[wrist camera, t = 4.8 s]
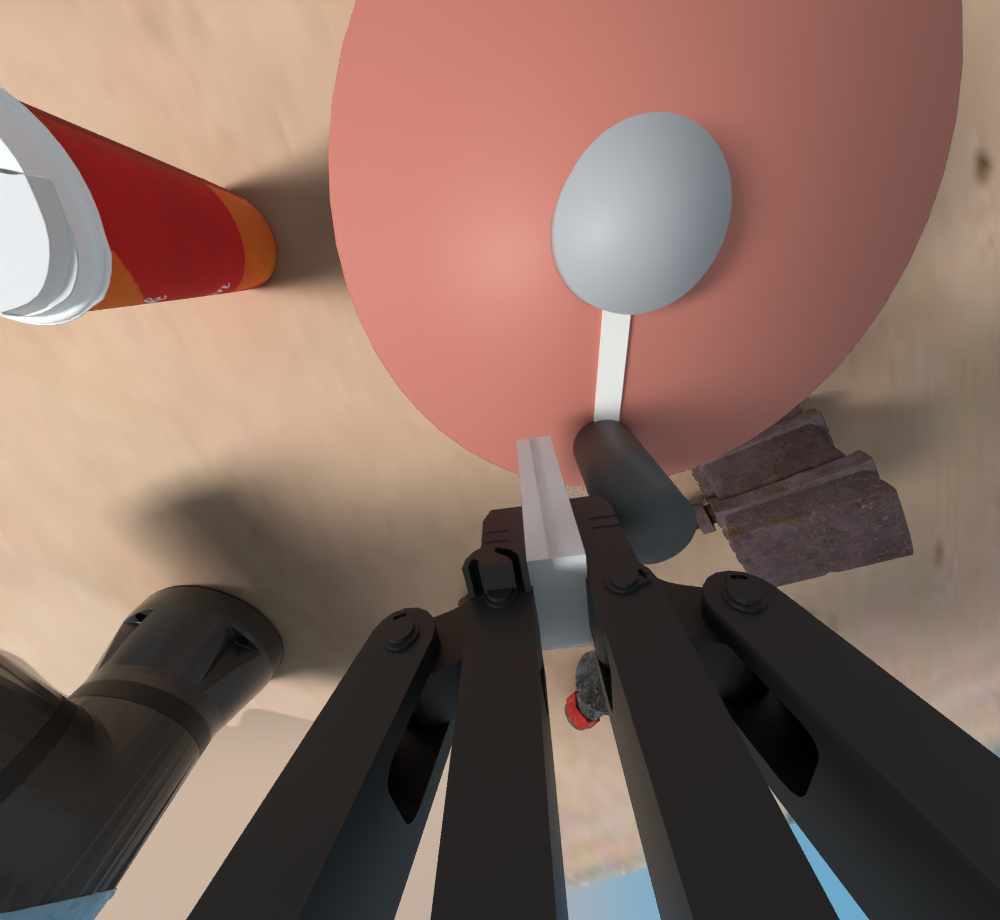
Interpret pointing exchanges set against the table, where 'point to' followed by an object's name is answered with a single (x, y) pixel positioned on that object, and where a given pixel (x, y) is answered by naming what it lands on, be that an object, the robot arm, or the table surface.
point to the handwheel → (632, 216)
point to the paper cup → (112, 225)
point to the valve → (586, 695)
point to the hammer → (800, 504)
